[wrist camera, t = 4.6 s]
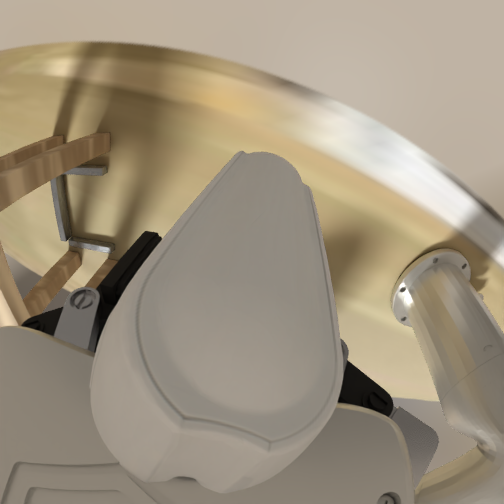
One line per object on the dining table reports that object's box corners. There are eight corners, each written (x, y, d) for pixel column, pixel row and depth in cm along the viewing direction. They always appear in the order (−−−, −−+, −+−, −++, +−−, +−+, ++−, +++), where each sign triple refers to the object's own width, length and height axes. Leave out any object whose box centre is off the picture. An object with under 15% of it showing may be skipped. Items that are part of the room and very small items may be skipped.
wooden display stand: (110, 132, 23) (-30, 197, 8) (122, 273, 33) (54, 381, 18) (52, 136, 23) (-66, 194, 8) (71, 262, 33) (1, 350, 18)
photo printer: (231, 318, 17) (183, 513, 7) (170, 289, 17) (82, 474, 6) (323, 179, 12) (413, 507, 2) (240, 134, 11) (-22, 395, 1)
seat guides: (106, 165, 25) (99, 169, 24) (114, 249, 31) (109, 255, 30) (56, 165, 25) (49, 168, 24) (68, 240, 31) (62, 246, 30)
